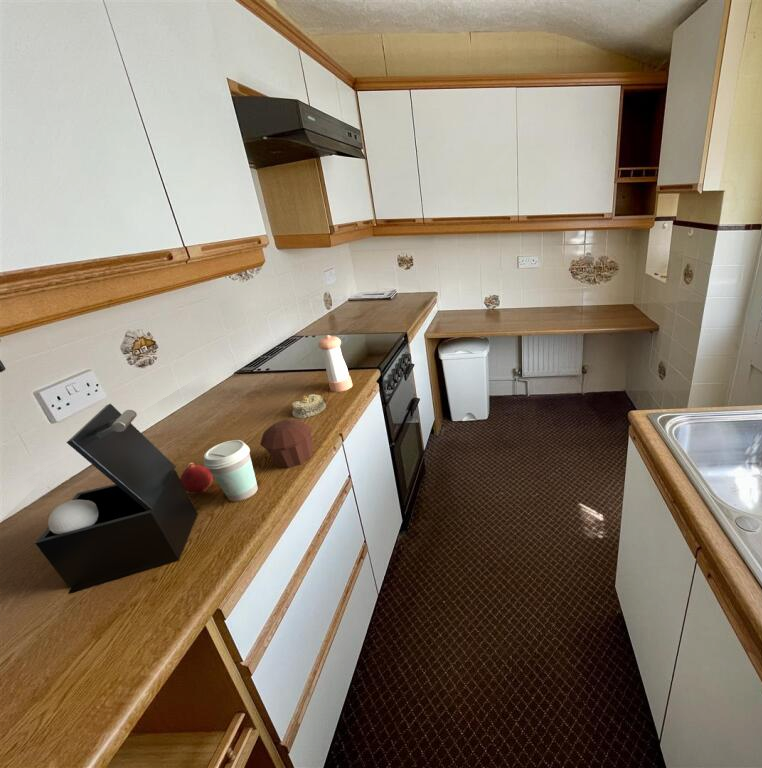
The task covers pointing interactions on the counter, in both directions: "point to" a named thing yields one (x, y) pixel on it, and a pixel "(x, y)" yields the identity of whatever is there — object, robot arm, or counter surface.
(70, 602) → the counter surface
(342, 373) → the pepper shaker
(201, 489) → the onion
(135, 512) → the bin
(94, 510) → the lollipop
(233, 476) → the coffee cup
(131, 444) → the bin lid
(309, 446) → the muffin
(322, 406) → the cake
